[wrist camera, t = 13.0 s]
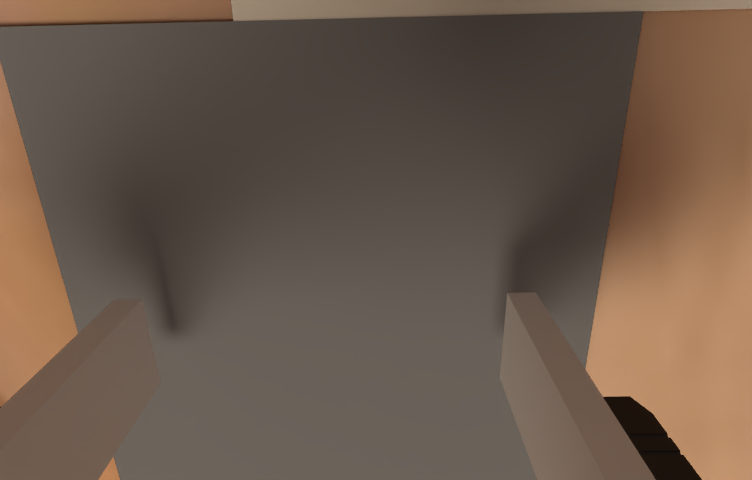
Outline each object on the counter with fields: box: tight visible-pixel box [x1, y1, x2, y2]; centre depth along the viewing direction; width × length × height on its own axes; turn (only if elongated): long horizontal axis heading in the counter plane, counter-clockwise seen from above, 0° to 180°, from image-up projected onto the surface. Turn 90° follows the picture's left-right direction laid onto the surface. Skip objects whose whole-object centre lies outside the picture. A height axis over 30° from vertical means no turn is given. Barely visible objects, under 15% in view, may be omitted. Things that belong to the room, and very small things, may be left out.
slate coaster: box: [0, 11, 644, 480], centre depth 15 cm, size 16×16×1 cm
